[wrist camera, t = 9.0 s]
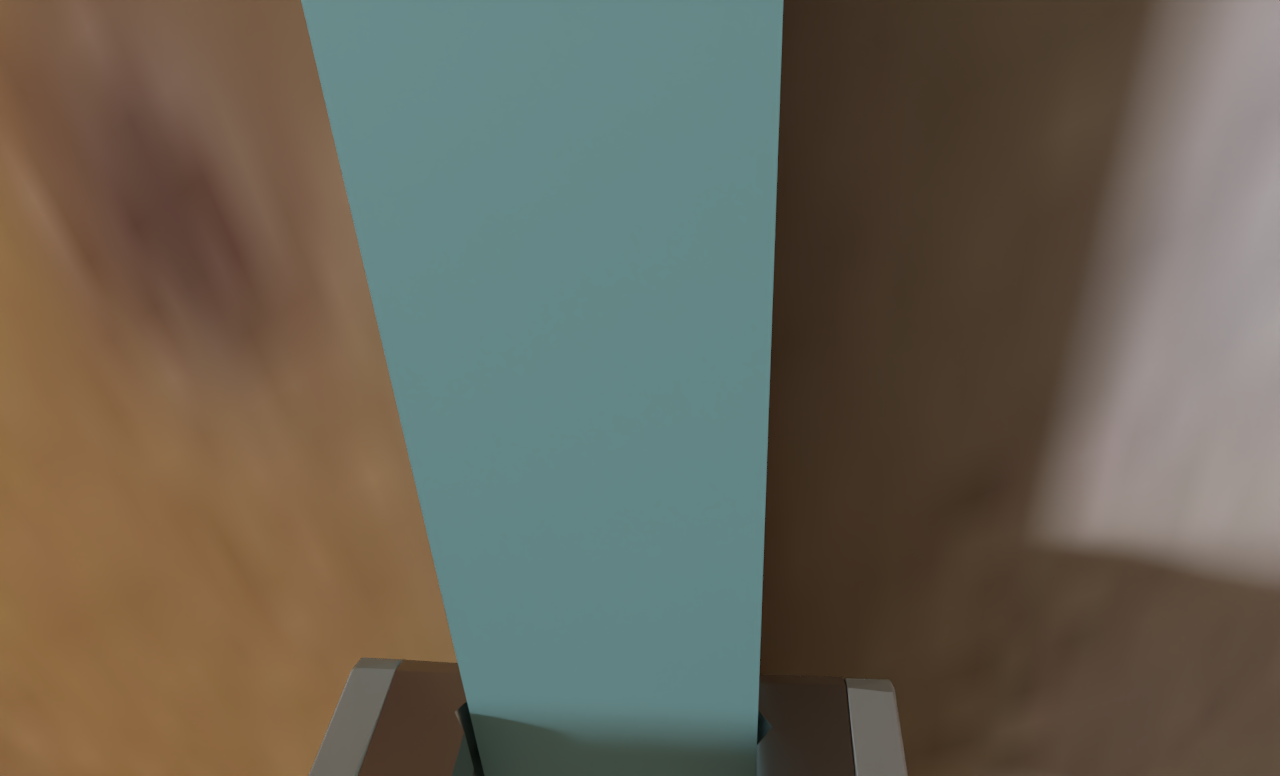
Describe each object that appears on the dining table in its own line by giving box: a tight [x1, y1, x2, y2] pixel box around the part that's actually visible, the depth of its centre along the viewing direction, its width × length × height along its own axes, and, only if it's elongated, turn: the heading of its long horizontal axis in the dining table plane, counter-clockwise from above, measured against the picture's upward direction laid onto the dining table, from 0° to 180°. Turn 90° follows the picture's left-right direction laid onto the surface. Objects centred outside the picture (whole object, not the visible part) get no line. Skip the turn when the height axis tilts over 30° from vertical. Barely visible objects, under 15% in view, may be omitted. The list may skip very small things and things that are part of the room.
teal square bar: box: [301, 0, 783, 776], centre depth 12 cm, size 3×22×3 cm, turn 3°
